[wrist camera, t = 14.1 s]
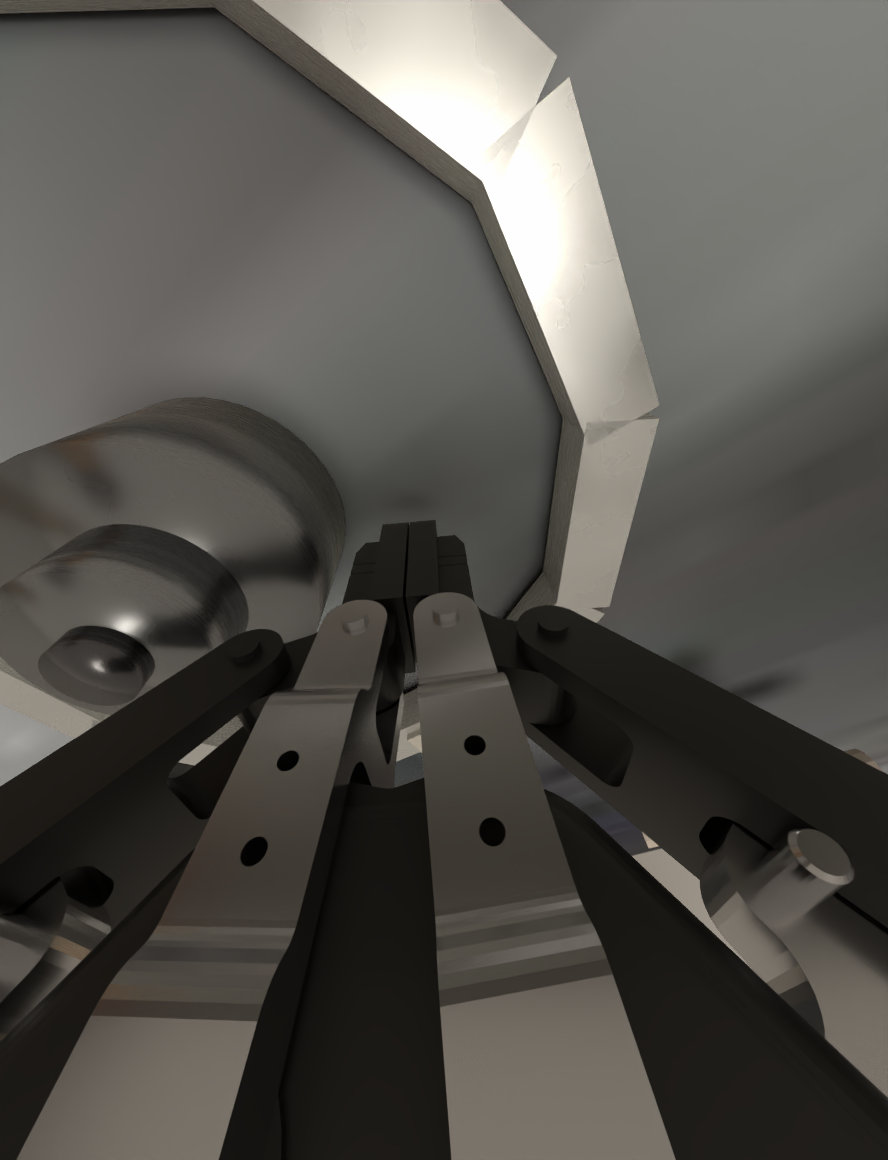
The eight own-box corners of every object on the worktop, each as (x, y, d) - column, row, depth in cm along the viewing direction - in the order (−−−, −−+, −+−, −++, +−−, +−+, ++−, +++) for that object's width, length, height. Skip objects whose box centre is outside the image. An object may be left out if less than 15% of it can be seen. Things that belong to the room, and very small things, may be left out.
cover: (317, 388, 12) (207, 476, 6) (363, 595, 17) (327, 768, 10) (55, 406, 12) (-345, 513, 6) (173, 608, 16) (24, 791, 10)
